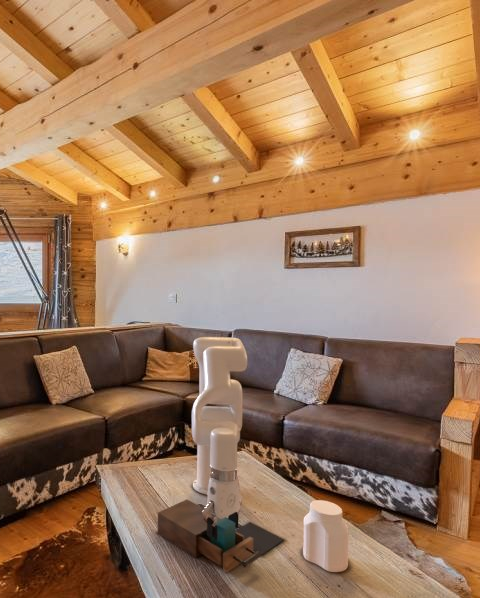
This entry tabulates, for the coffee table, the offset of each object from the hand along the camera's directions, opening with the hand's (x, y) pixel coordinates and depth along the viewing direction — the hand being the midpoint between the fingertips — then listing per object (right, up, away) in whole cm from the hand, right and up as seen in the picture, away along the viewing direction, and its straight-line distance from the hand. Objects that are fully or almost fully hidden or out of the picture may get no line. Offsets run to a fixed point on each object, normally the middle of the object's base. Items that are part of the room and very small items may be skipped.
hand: (222, 531), depth 122 cm
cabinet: (-7, -7, +10) cm, 14 cm away
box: (0, -5, 0) cm, 5 cm away
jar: (+29, -8, -1) cm, 30 cm away
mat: (+12, -7, +9) cm, 17 cm away
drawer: (+1, -6, 0) cm, 6 cm away
